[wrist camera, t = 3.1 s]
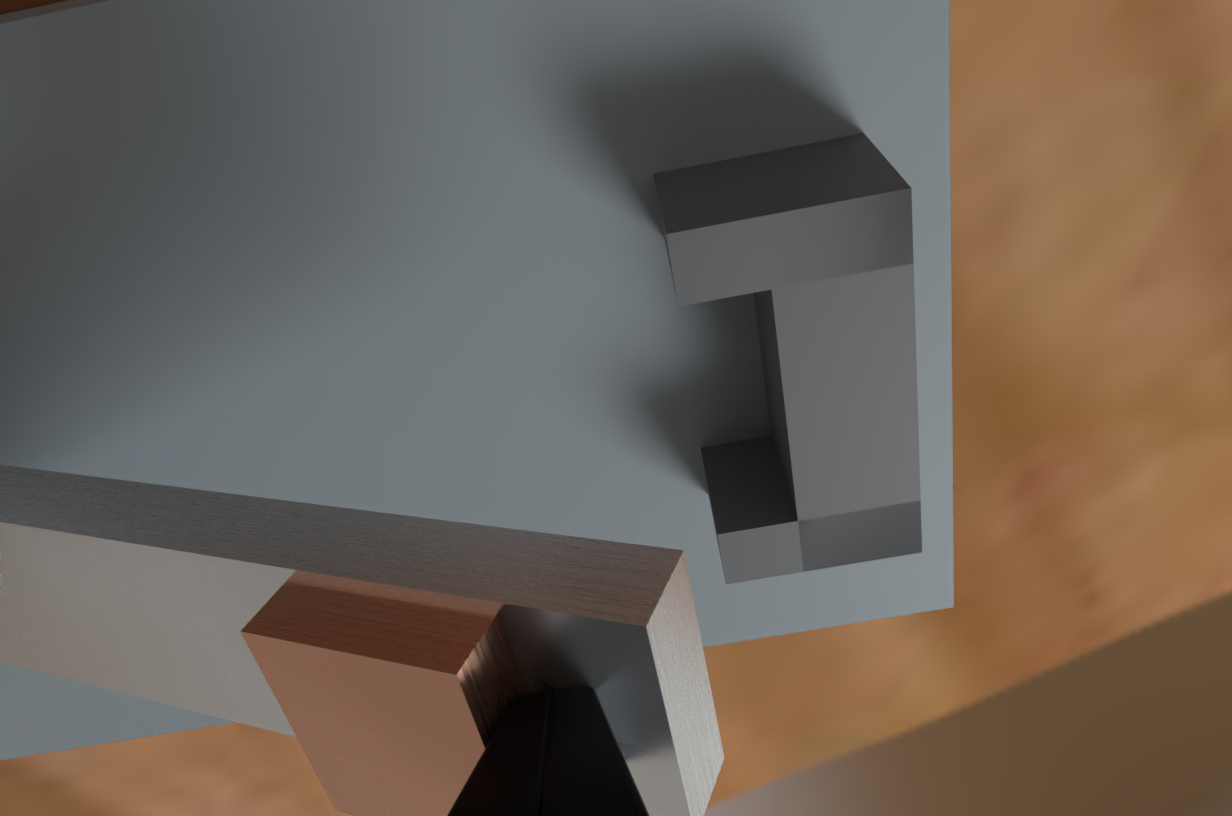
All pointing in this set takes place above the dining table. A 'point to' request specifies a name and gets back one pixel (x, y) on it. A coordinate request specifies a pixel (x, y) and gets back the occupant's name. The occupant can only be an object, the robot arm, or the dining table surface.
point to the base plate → (494, 283)
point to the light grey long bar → (356, 630)
